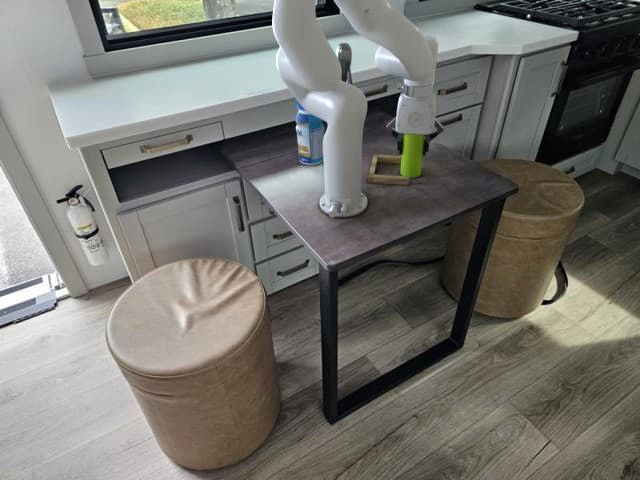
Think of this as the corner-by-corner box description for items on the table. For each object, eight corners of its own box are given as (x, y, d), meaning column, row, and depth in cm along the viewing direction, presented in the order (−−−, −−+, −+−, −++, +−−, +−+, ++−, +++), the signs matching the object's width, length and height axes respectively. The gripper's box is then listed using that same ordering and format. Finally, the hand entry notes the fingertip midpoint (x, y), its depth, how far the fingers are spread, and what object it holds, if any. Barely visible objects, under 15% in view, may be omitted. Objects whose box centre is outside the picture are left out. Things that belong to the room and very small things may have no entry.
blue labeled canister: (324, 165, 131) (321, 101, 119) (297, 166, 132) (291, 102, 120) (326, 153, 138) (323, 91, 126) (300, 153, 139) (294, 92, 126)
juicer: (355, 129, 151) (355, 38, 133) (354, 143, 143) (354, 47, 124) (327, 129, 152) (324, 39, 134) (324, 143, 144) (321, 48, 125)
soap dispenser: (420, 180, 122) (427, 112, 109) (397, 175, 125) (402, 108, 112) (427, 171, 126) (434, 104, 113) (404, 166, 129) (410, 100, 116)
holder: (408, 185, 120) (409, 178, 119) (368, 182, 122) (368, 176, 121) (410, 162, 131) (411, 156, 129) (373, 160, 133) (373, 154, 132)
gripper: (383, 93, 109) (380, 157, 120) (453, 95, 106) (443, 161, 117) (385, 83, 115) (383, 145, 126) (452, 85, 111) (443, 149, 122)
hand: (412, 152), depth 121 cm, fingers closed on soap dispenser, 6 cm apart
